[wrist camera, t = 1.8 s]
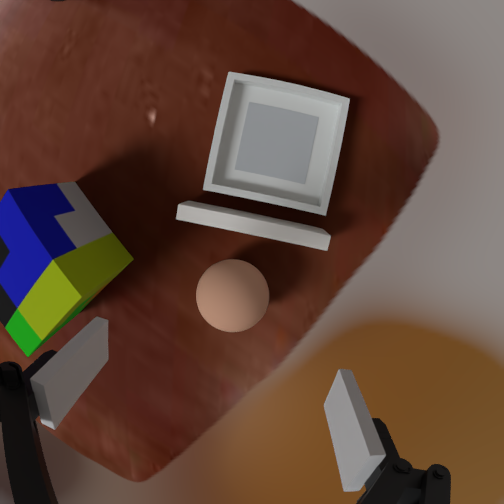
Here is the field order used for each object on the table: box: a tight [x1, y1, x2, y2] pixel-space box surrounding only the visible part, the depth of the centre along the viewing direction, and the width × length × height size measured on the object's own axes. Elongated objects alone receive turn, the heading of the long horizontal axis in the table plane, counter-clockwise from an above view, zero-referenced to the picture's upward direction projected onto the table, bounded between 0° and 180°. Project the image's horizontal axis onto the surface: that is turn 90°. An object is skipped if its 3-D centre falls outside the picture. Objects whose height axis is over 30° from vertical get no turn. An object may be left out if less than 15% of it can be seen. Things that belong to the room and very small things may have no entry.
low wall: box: [176, 201, 331, 251], centre depth 25 cm, size 1×12×4 cm, turn 78°
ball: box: [196, 259, 269, 332], centre depth 26 cm, size 6×6×6 cm
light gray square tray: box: [203, 72, 350, 216], centre depth 25 cm, size 10×10×2 cm
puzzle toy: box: [0, 182, 134, 357], centre depth 24 cm, size 10×10×10 cm
